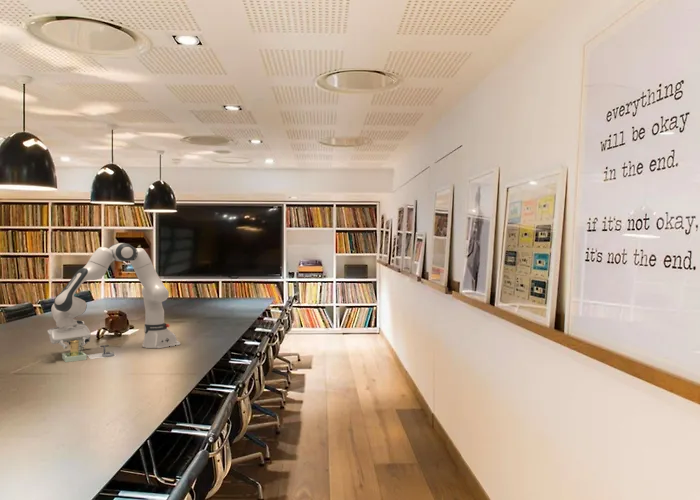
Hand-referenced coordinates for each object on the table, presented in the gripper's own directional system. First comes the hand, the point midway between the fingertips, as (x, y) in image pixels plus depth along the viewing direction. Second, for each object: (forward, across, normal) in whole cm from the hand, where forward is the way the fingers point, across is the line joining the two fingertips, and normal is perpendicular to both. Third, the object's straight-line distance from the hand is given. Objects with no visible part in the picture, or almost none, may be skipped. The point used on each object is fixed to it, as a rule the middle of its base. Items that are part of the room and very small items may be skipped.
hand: (74, 346), depth 267 cm
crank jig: (+8, +13, +4) cm, 16 cm away
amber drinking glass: (+4, 0, +5) cm, 7 cm away
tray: (+5, 0, +6) cm, 8 cm away
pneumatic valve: (-9, +12, +21) cm, 26 cm away
